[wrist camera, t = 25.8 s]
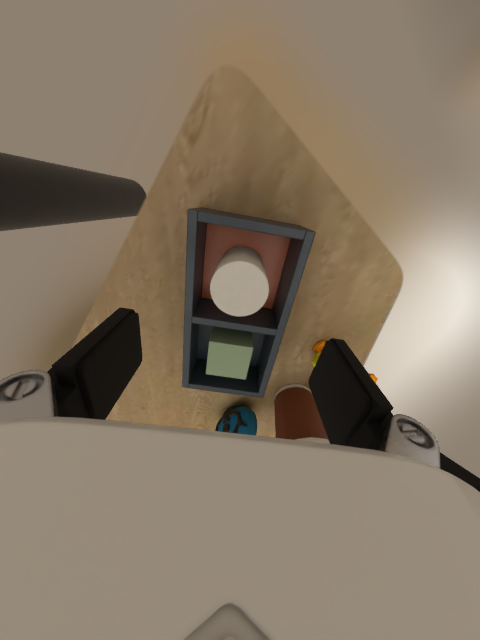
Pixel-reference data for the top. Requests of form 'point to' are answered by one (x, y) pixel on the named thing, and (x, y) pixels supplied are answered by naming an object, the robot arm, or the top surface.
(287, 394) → the coffee cup
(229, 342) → the sage block
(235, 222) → the dark grey divided tray
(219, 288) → the white cylinder
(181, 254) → the top surface
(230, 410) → the ornament
